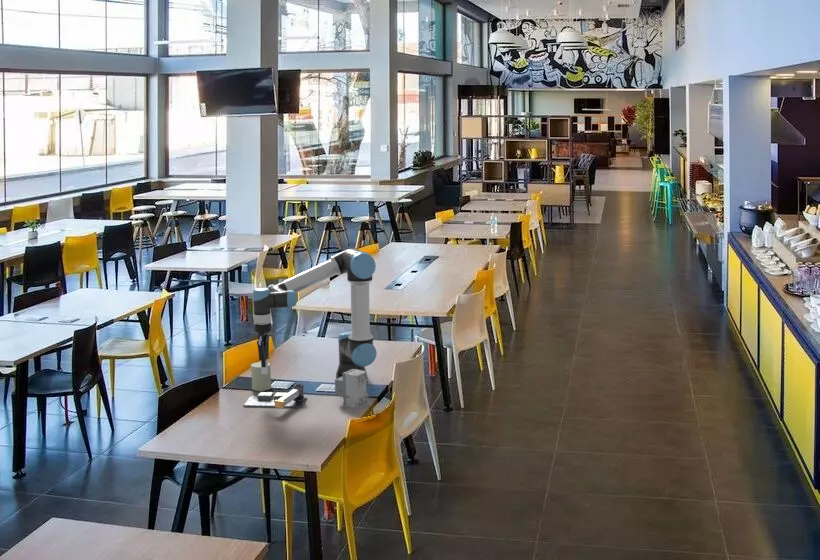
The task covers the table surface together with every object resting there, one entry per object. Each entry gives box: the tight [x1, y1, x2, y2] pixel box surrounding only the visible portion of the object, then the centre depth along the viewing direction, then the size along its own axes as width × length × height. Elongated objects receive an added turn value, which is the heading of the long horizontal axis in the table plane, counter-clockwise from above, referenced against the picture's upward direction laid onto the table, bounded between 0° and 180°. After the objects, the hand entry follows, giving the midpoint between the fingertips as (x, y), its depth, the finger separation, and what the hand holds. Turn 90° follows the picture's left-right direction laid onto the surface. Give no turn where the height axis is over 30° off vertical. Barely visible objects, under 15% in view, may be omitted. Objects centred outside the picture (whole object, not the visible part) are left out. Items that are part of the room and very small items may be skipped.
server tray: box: [242, 391, 308, 409], centre depth 422 cm, size 26×13×3 cm, turn 83°
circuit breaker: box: [334, 369, 369, 409], centre depth 419 cm, size 8×14×15 cm, turn 55°
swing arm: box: [274, 382, 305, 409], centre depth 416 cm, size 22×4×7 cm, turn 161°
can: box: [250, 361, 272, 392], centre depth 443 cm, size 9×9×12 cm
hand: (264, 373), depth 424 cm, fingers closed
